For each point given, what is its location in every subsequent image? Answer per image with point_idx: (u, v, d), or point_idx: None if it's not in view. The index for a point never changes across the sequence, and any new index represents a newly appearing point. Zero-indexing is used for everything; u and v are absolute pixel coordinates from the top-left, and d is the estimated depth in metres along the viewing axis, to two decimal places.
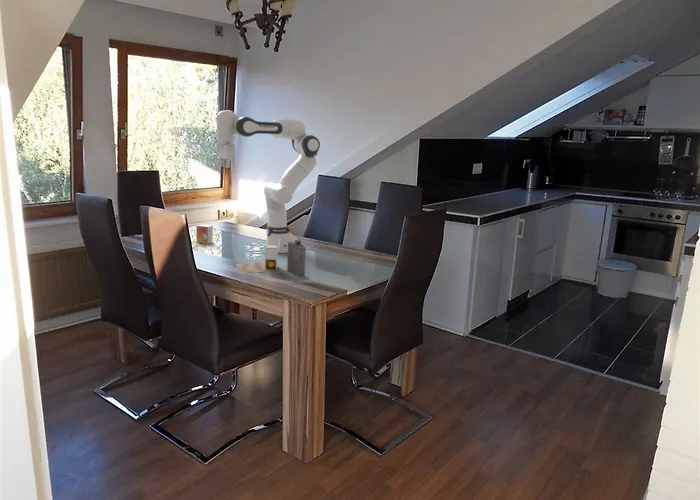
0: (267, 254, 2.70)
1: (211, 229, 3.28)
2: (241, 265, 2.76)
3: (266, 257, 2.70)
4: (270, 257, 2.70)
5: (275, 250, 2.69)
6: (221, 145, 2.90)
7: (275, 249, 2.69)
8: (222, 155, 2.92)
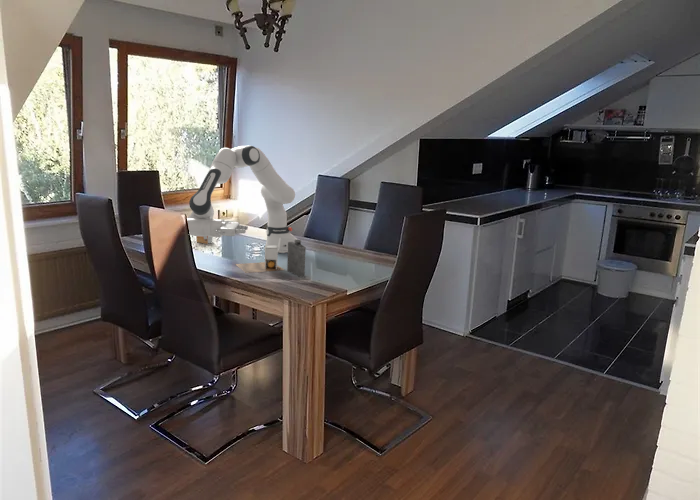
0: (267, 254, 2.70)
1: None
2: (241, 265, 2.76)
3: (266, 257, 2.70)
4: (270, 257, 2.70)
5: (275, 250, 2.69)
6: None
7: (275, 249, 2.69)
8: None
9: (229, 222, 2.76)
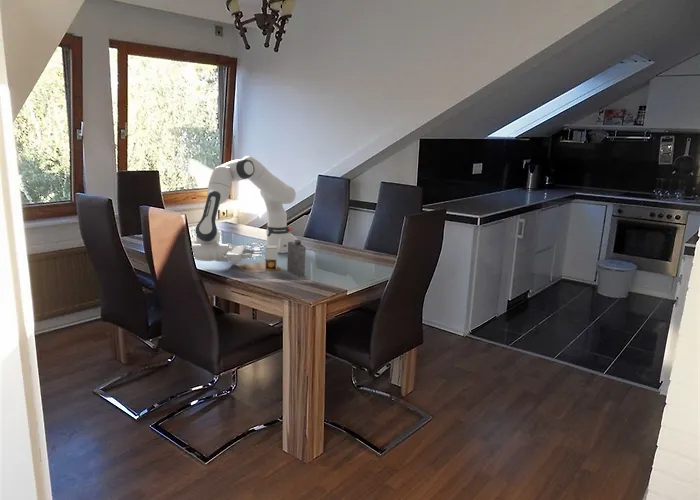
0: (267, 254, 2.70)
1: None
2: (241, 265, 2.76)
3: (266, 257, 2.70)
4: (270, 257, 2.70)
5: (275, 250, 2.69)
6: None
7: (275, 249, 2.69)
8: None
9: (235, 246, 2.78)
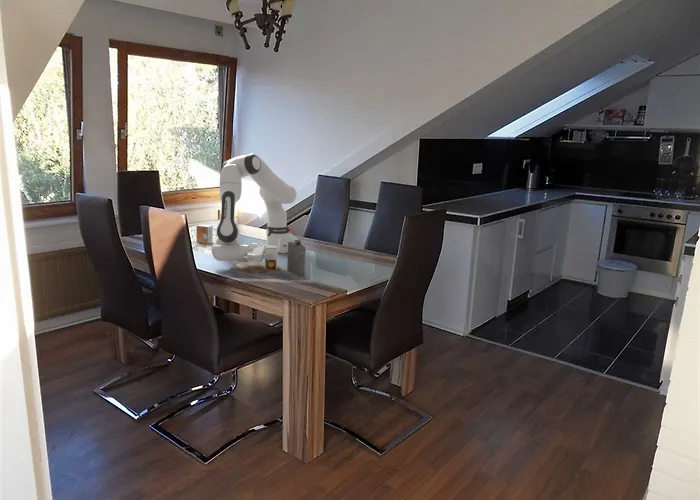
0: None
1: (211, 229, 3.28)
2: (241, 265, 2.76)
3: None
4: None
5: (275, 250, 2.69)
6: None
7: (275, 249, 2.69)
8: None
9: (255, 246, 2.79)
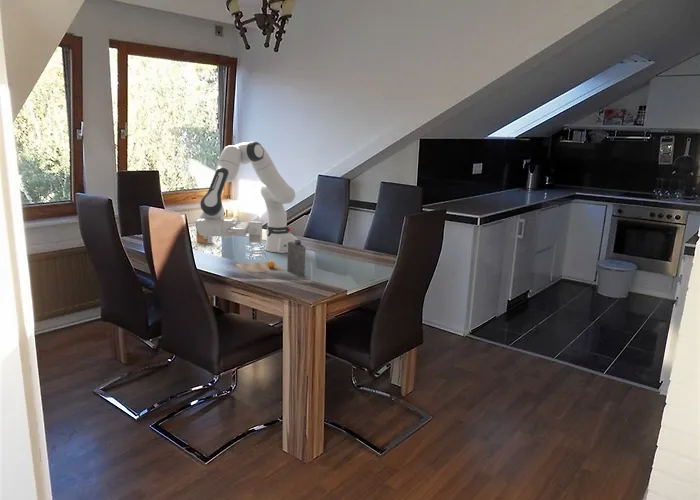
0: None
1: None
2: (241, 265, 2.76)
3: None
4: None
5: (259, 225, 2.68)
6: None
7: (259, 224, 2.68)
8: None
9: (239, 222, 2.78)
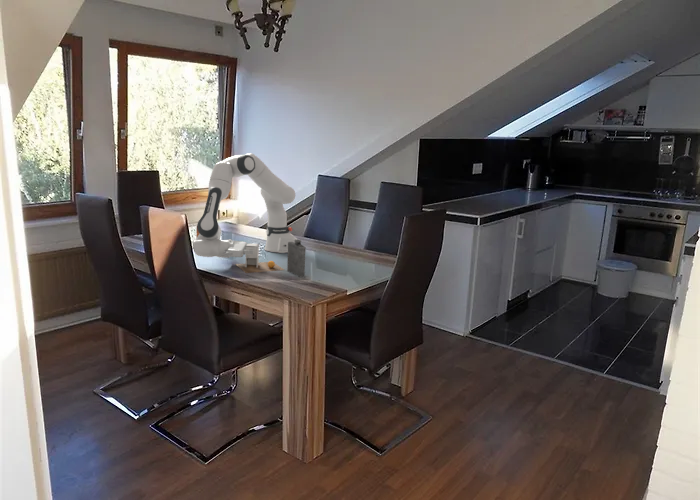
0: None
1: None
2: (241, 265, 2.76)
3: (247, 255, 2.71)
4: (251, 255, 2.71)
5: (256, 248, 2.71)
6: None
7: (256, 247, 2.71)
8: None
9: (237, 242, 2.80)
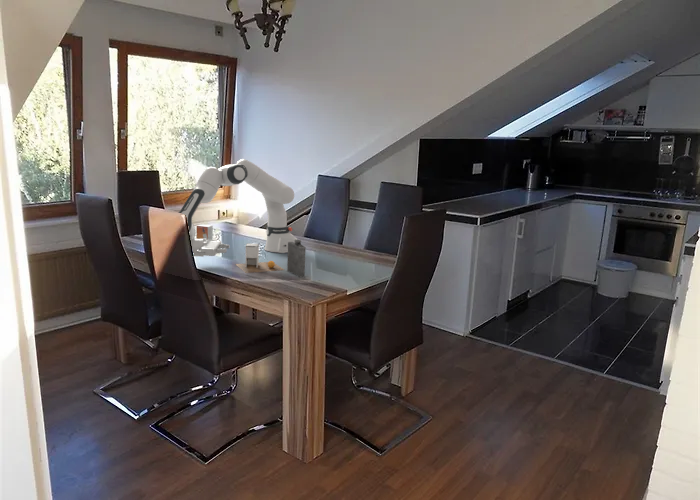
0: (248, 252, 2.71)
1: (211, 229, 3.28)
2: (241, 265, 2.76)
3: (247, 255, 2.71)
4: (251, 255, 2.71)
5: (256, 248, 2.71)
6: None
7: (256, 247, 2.71)
8: None
9: (211, 241, 2.79)
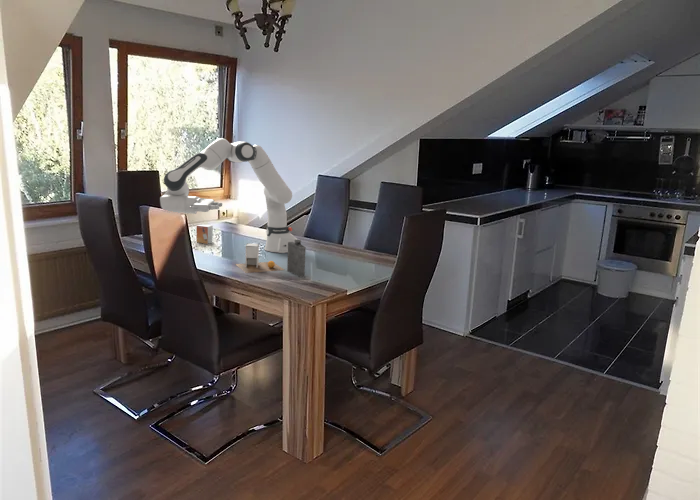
0: (248, 252, 2.71)
1: (211, 229, 3.28)
2: (241, 265, 2.76)
3: (247, 255, 2.71)
4: (251, 255, 2.71)
5: (256, 248, 2.71)
6: (196, 210, 2.74)
7: (256, 247, 2.71)
8: None
9: (204, 199, 2.82)
